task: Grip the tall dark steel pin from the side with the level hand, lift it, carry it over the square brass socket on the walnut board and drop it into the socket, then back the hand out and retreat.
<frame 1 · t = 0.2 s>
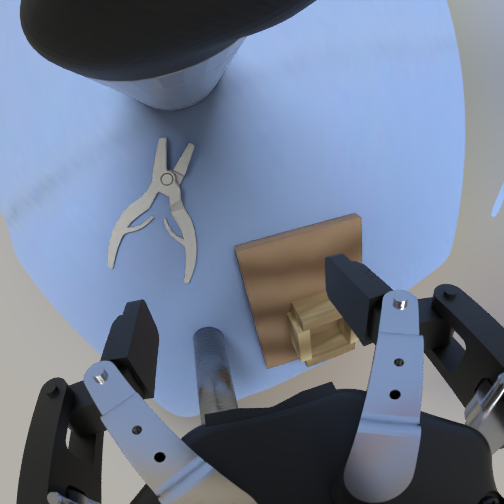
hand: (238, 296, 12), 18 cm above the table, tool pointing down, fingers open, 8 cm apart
pliers: (160, 210, 27), on the table
socket board: (306, 297, 36), on the table
steel pin: (208, 338, 35), on the table
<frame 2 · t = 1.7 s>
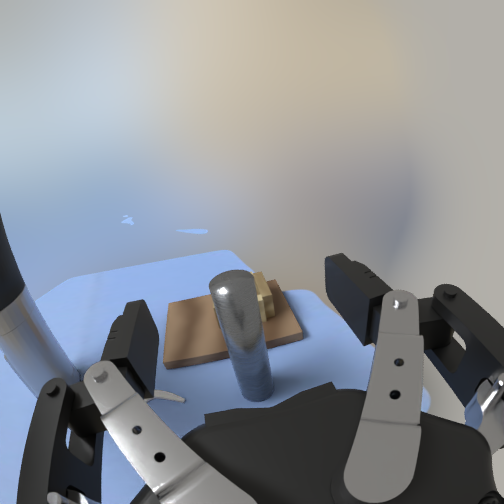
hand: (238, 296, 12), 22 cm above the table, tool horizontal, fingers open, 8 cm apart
socket board: (227, 324, 43), on the table
steel pin: (257, 388, 31), on the table
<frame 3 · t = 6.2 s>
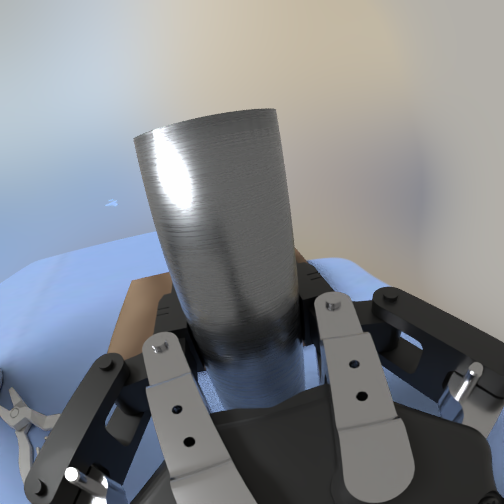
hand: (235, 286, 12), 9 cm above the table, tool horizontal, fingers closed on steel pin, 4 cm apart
pliers: (44, 444, 12), on the table
socket board: (218, 309, 26), on the table
steel pin: (272, 431, 14), on the table, touching gripper
when the fingers open (12 cm above the table, at t = 11.6 s): steel pin drops 1 cm, resting on socket board.
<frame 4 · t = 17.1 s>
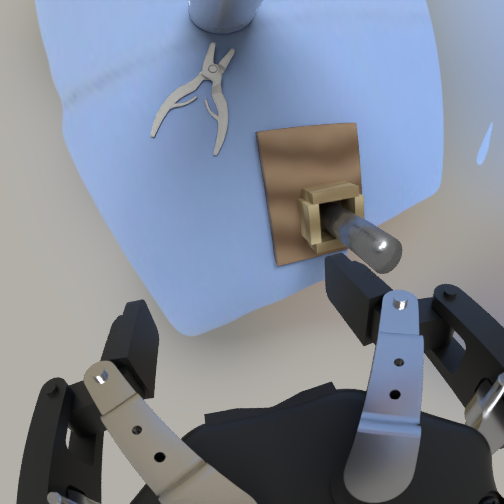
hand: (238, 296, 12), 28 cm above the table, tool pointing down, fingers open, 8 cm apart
pliers: (202, 94, 32), on the table
socket board: (314, 191, 40), on the table
steel pin: (325, 212, 40), point 2 cm above the table, touching socket board
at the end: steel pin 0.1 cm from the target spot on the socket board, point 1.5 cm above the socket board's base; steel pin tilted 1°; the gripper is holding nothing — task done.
